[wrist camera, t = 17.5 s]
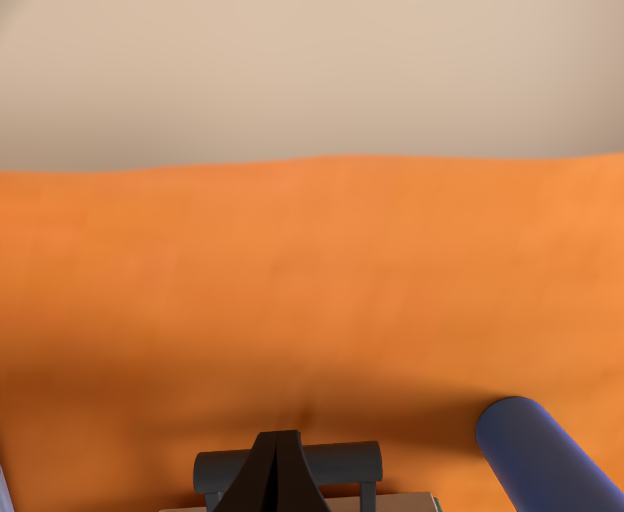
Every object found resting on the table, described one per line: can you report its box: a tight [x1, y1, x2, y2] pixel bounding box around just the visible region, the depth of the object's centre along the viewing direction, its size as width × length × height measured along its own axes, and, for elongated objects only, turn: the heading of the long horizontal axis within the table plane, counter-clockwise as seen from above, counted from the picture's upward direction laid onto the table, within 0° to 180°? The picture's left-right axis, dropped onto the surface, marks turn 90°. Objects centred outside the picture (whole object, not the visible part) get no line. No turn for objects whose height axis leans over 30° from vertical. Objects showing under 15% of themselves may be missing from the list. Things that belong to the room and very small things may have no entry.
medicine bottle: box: [475, 397, 624, 512], centre depth 15 cm, size 4×4×8 cm
